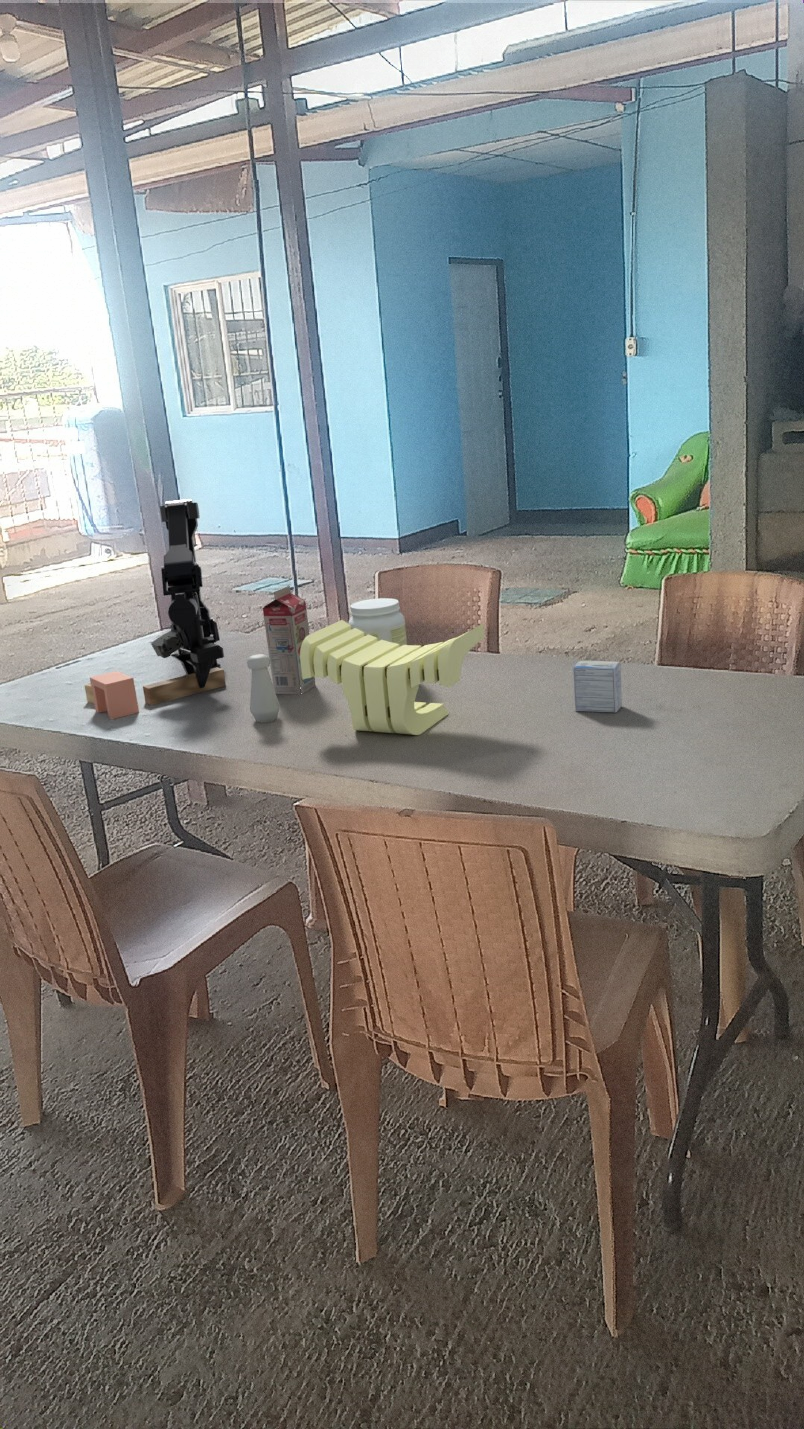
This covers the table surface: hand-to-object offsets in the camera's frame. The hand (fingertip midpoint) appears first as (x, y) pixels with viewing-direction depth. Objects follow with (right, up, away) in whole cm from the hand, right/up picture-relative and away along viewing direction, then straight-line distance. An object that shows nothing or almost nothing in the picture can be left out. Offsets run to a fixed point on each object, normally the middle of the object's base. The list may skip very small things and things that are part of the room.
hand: (198, 686), depth 237 cm
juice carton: (+22, -1, -6) cm, 23 cm away
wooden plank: (-2, -2, -1) cm, 3 cm away
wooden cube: (-21, -3, 0) cm, 22 cm away
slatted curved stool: (+45, -8, -36) cm, 58 cm away
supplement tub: (+41, +1, -5) cm, 41 cm away
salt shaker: (+18, -7, -25) cm, 32 cm away
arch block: (-15, -6, -10) cm, 19 cm away
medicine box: (+81, -5, -38) cm, 90 cm away
